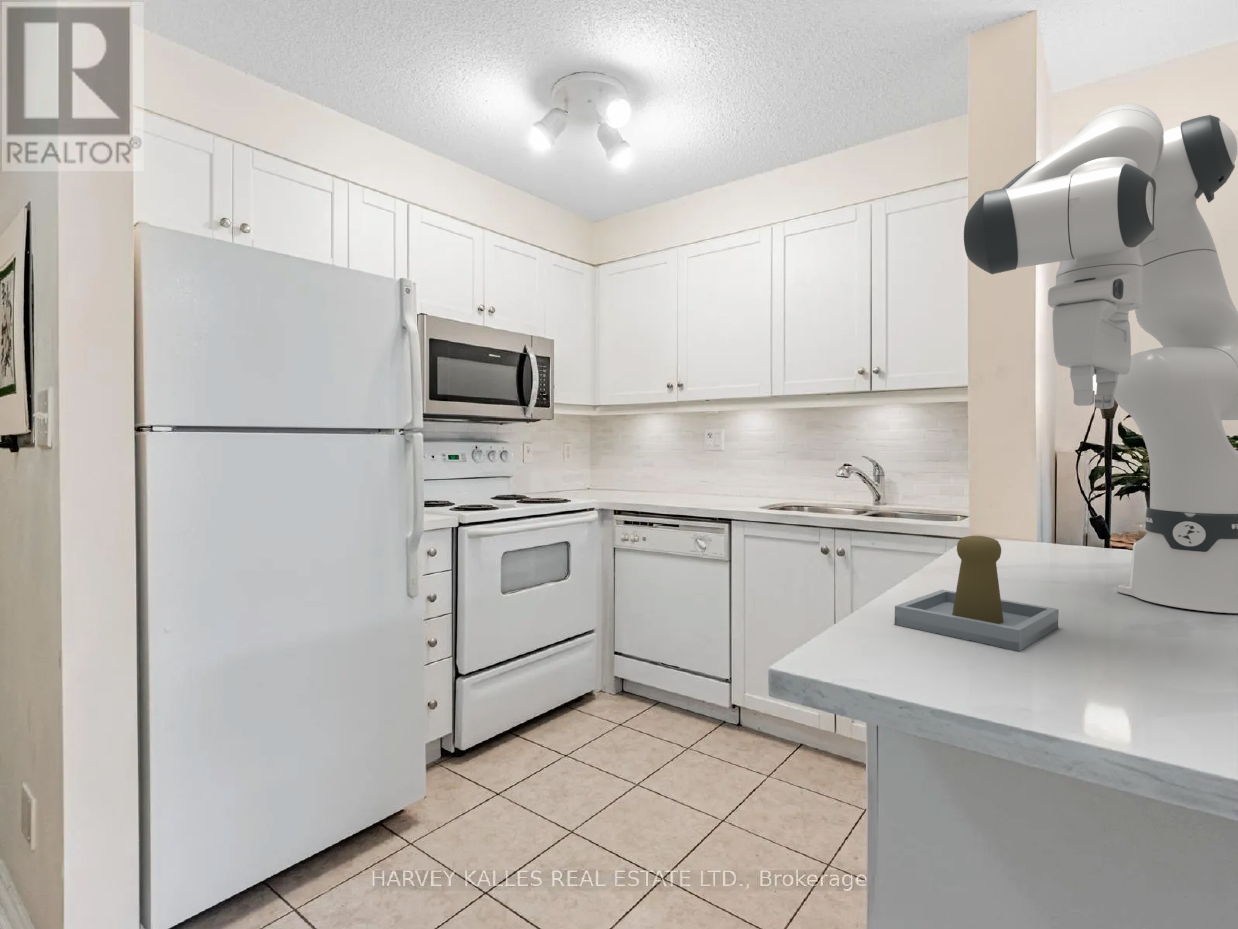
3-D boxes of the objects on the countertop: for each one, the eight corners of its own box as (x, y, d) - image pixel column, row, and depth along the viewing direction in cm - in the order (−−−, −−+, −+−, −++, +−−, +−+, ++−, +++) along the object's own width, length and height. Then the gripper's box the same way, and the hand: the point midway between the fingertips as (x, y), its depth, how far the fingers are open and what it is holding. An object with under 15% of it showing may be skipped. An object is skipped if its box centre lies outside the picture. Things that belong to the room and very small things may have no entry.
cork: (1011, 625, 84) (1013, 540, 83) (961, 623, 85) (962, 539, 84) (992, 613, 90) (994, 534, 89) (945, 611, 91) (947, 532, 90)
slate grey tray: (941, 606, 98) (942, 589, 97) (1058, 627, 86) (1058, 609, 86) (894, 624, 88) (894, 606, 88) (1019, 651, 76) (1019, 630, 76)
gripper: (1089, 312, 91) (1086, 410, 92) (1043, 288, 78) (1040, 404, 78) (1146, 304, 86) (1143, 409, 87) (1107, 278, 73) (1104, 402, 73)
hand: (1094, 407), depth 82 cm, fingers open, 8 cm apart
